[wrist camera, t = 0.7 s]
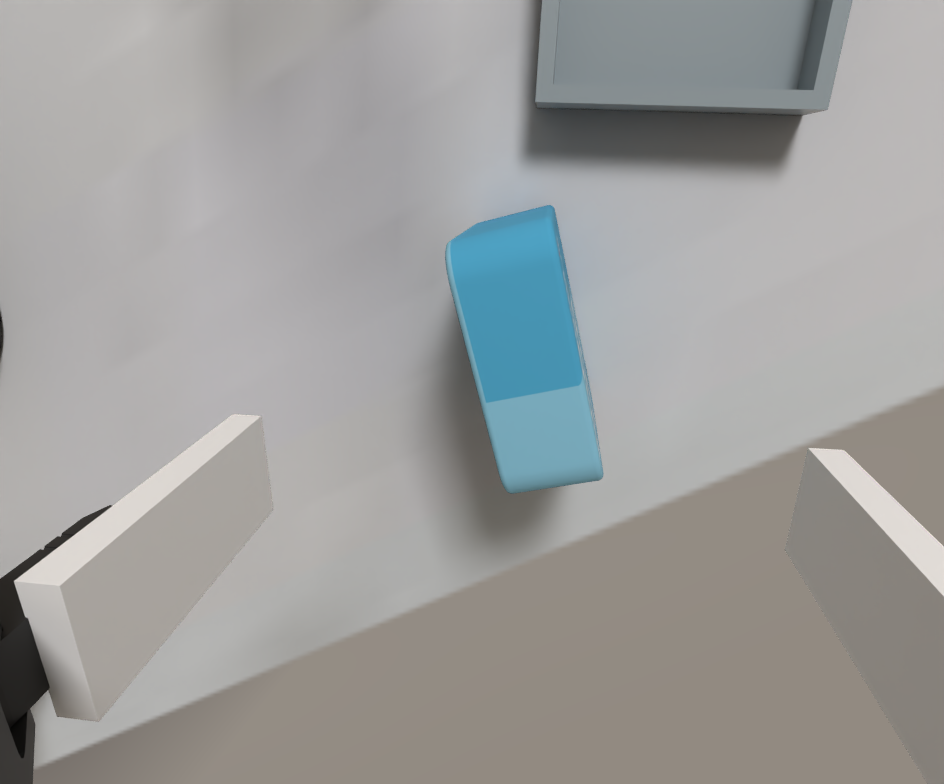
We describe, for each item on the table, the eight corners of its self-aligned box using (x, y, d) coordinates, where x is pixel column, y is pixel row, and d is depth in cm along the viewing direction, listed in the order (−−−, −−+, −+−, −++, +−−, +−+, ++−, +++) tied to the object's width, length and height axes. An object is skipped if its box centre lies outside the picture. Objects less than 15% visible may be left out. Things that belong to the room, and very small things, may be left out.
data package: (591, 396, 37) (606, 493, 26) (521, 409, 38) (506, 508, 27) (553, 202, 34) (551, 218, 22) (476, 221, 35) (437, 246, 23)
